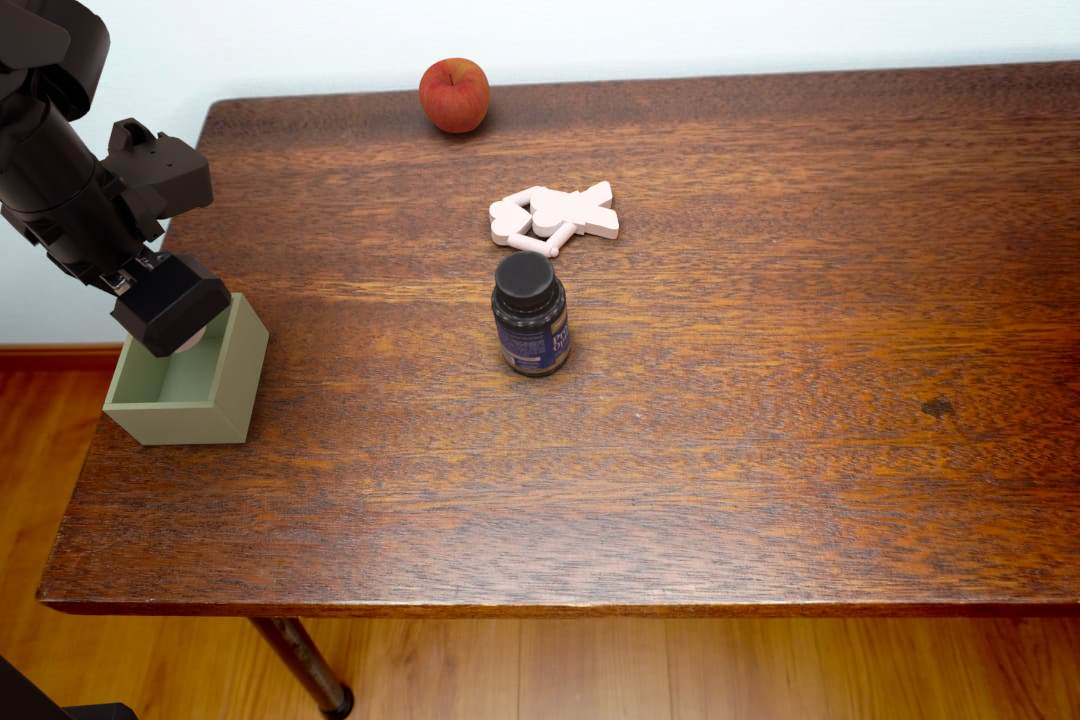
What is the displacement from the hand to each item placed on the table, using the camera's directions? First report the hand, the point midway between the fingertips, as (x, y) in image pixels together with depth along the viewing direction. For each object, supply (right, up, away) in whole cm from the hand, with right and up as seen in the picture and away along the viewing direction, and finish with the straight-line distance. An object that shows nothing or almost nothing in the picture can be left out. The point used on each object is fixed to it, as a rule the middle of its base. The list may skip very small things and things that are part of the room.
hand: (169, 320), depth 63 cm
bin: (-1, -6, +11) cm, 12 cm away
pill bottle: (+28, -2, +10) cm, 30 cm away
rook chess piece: (0, -1, +2) cm, 2 cm away
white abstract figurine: (+30, +10, +17) cm, 36 cm away
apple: (+20, +22, +26) cm, 40 cm away
